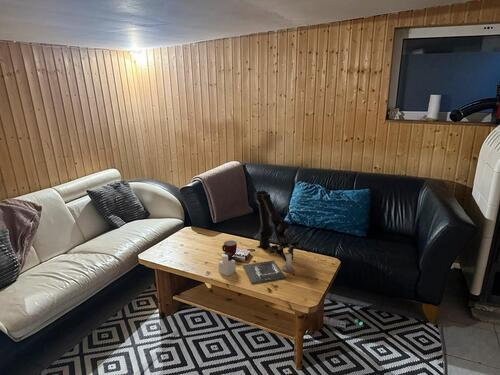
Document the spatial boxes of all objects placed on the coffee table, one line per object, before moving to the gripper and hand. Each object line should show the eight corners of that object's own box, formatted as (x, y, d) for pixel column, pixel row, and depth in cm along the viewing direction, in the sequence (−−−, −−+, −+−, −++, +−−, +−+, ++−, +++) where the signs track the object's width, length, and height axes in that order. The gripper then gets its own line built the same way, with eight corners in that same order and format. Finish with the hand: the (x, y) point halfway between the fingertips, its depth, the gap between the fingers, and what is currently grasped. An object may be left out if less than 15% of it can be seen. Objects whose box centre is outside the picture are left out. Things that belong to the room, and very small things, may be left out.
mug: (218, 257, 209) (218, 243, 207) (225, 252, 216) (224, 238, 214) (233, 261, 205) (232, 246, 202) (239, 255, 212) (238, 241, 209)
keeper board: (251, 284, 180) (251, 280, 179) (242, 266, 198) (242, 262, 198) (285, 278, 185) (285, 274, 184) (273, 261, 203) (273, 258, 203)
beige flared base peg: (279, 269, 194) (279, 254, 192) (286, 265, 199) (286, 250, 196) (289, 273, 190) (289, 258, 187) (296, 269, 195) (296, 253, 192)
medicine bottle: (227, 267, 197) (226, 249, 194) (235, 271, 193) (235, 253, 190) (218, 272, 192) (218, 254, 189) (227, 276, 188) (227, 257, 184)
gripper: (271, 233, 188) (279, 259, 181) (299, 228, 195) (308, 252, 188) (265, 240, 197) (273, 265, 191) (292, 235, 204) (301, 259, 197)
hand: (289, 260), depth 191 cm, fingers closed on beige flared base peg, 4 cm apart
